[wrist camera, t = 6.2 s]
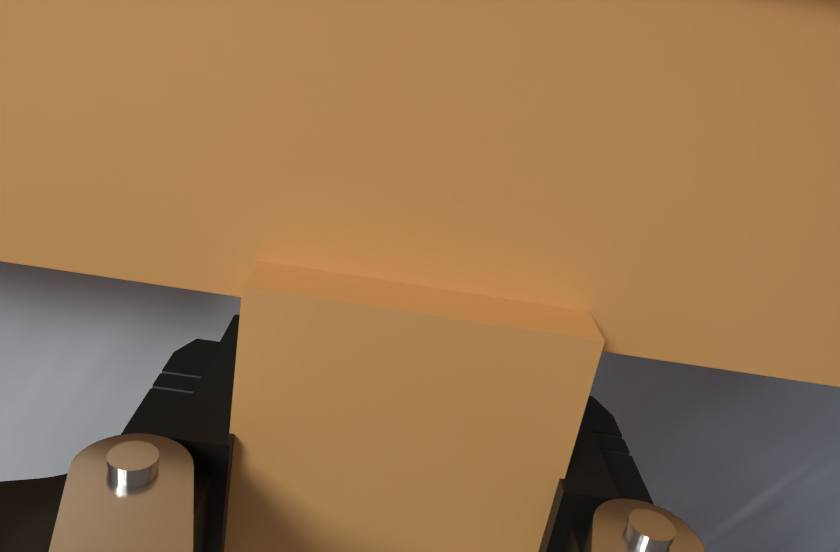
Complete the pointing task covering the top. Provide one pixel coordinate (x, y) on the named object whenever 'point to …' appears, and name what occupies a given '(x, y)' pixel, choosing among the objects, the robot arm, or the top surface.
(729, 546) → the top surface
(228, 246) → the wooden paddle board
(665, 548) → the robot arm
